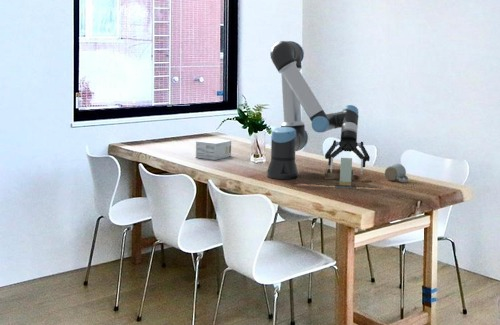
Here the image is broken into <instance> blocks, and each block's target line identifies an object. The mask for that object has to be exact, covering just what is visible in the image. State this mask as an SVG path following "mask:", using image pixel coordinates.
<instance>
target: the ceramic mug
mask: <svg viewBox="0 0 500 325" xmlns="http://www.w3.org/2000/svg"><path fill="white" fill-rule="evenodd" d="M406 173H407V170H406V168H405V166H404V165H402V164H400V163H394V164H392V165H390V166H388V167H386V168H385V170H384V176H385V178H386V179H387V180H388V181H391V182H394V181H399V182H401V183H407V182H408V181H409V177H408V176H407V175H406Z"/></svg>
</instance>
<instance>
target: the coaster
mask: <svg viewBox="0 0 500 325" xmlns="http://www.w3.org/2000/svg"><path fill="white" fill-rule="evenodd" d="M334 188H336V189H337V188H338V189H350V190H351V189H353V190H354V189H355V190H356V186H355V185H351V186H350V185H344V186H339V184H334Z"/></svg>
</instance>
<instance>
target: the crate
mask: <svg viewBox="0 0 500 325" xmlns="http://www.w3.org/2000/svg"><path fill="white" fill-rule="evenodd" d="M355 170H356V169H352V171H351V181H355V178H356V176H355V175H356V171H355ZM323 177H324V180H337V181H340V168H332V172H330V168H325V170H324V176H323Z"/></svg>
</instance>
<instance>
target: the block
mask: <svg viewBox="0 0 500 325" xmlns="http://www.w3.org/2000/svg"><path fill="white" fill-rule="evenodd" d="M352 164H353V158H352V157H341V158H340V168H339V169H340V180H339V182H338V183H339V184H338V185H339V186H352V180H351V171H352V170H353V168H352V167H353V165H352Z"/></svg>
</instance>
